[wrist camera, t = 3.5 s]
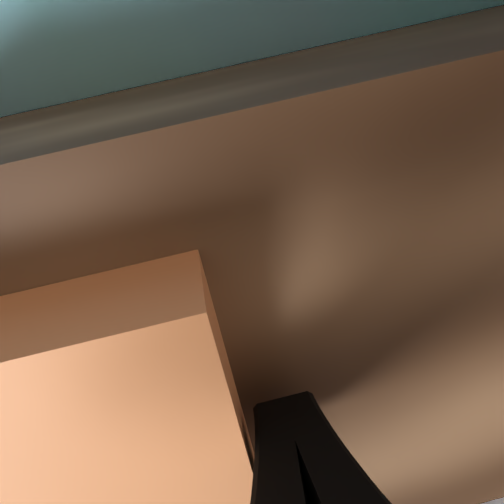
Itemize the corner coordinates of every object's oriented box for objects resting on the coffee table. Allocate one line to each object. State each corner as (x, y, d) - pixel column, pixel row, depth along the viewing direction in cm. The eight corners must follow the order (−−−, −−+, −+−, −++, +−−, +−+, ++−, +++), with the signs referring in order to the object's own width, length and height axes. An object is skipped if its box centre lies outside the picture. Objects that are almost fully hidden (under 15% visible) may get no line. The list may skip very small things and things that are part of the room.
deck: (504, 386, 19) (579, 476, 16) (108, 489, 18) (96, 607, 15) (559, -8, 12) (721, 0, 8) (-95, 138, 11) (-210, 212, 8)
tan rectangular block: (270, 511, 14) (285, 586, 12) (64, 565, 14) (50, 651, 12) (198, 249, 9) (206, 313, 7) (-120, 324, 9) (-186, 408, 7)
